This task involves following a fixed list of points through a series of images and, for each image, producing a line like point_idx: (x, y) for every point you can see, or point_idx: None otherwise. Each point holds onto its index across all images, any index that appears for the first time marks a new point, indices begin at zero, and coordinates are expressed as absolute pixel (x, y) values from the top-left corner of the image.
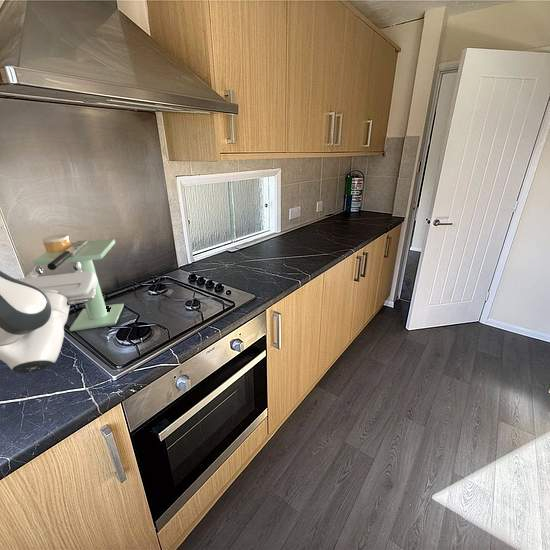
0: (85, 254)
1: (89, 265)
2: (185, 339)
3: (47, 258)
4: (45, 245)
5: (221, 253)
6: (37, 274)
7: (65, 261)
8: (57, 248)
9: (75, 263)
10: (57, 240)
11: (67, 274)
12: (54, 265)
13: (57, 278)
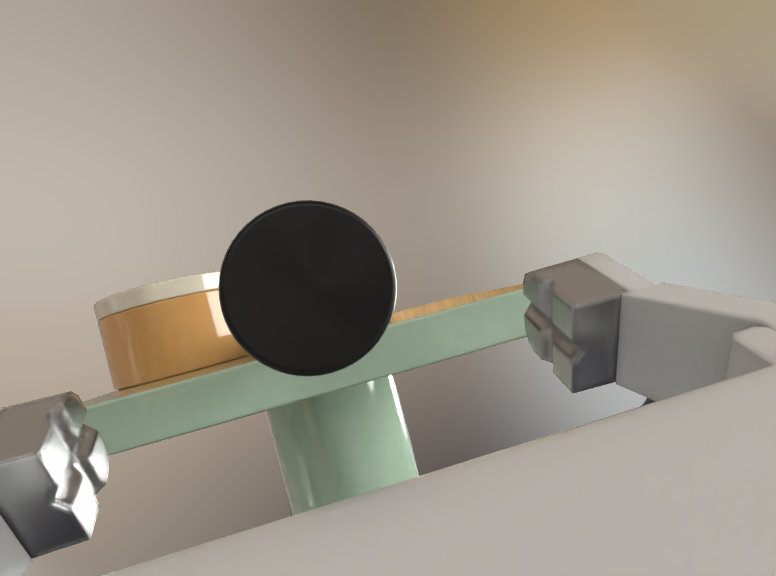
0: (445, 307)
1: (404, 445)
2: None
3: (135, 391)
4: (113, 337)
5: None
6: (4, 562)
7: (301, 386)
8: (193, 343)
9: (575, 271)
10: (195, 284)
11: (749, 399)
12: (369, 246)
13: (607, 568)
